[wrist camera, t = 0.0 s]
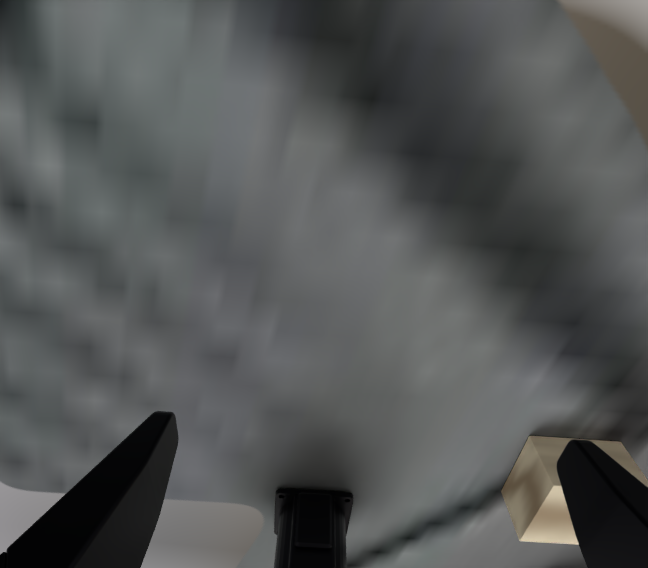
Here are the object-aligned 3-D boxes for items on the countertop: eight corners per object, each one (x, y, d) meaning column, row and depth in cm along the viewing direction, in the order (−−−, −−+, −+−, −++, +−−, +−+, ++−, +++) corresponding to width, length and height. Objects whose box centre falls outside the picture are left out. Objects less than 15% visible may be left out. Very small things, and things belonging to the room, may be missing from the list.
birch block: (583, 496, 35) (610, 546, 32) (501, 491, 35) (519, 541, 32) (620, 441, 31) (655, 491, 28) (529, 435, 31) (553, 485, 28)
